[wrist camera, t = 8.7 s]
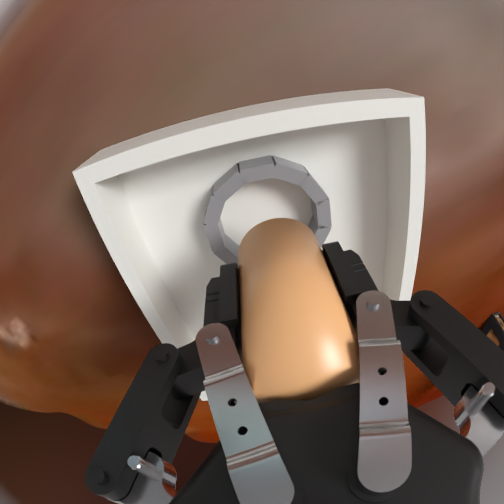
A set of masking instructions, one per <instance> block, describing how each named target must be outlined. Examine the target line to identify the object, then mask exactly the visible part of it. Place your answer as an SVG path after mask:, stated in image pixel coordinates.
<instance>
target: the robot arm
mask: <svg viewBox="0 0 504 504" xmlns="http://www.w3.org/2000/svg"><path fill="white" fill-rule="evenodd" d="M322 252H323V254H324V256H325V259H326V261H327V263H328V266H329V268H330V270H331V273H332V275H333V278H334V280H335V282H336V285H337V287H338V290H339V292H340V295H341V297H342V300H343V302H344V305H345V307H346V310H347V312H348V315H349V318H350V320H351V323H352V325H353V328H354V331H355V333H356V336H357V344H358V359H359V373H358V376H359V382H358V383H355V384H351V385H347V386H343V387H339V388H336V389H334V390H332V391H330V392H328V393H325V394H323V395H321V396H319V397H317V398H315V399H313V400H309V401H301V400H276V401H270V402H263V403H258V402H257V399H256V397H255V394H254V392H253V390H252V387H251V385H250V382H249V380H248V377H247V375H246V372H245V369H244V367H243V361H242V339H241V316H240V292H239V269H238V265H237V263H236V262H234V263H229V264H224V265H220V277H215V278H211V280H210V281H209V283H208V285H207V286H206V298H205V310H204V323H203V328H201V329H200V330H199V331H198V333H197V335H196V338H195V340H194V341H193V342H191V343H189V344H187V345H185V346H182V347H180V348H176V347H175V346H174V345H172V344H169V343H163V344H160V345H157V346H155V347H154V348H153V349H152V350H151V351H150V352H149V353H148V355H147V357H146V358H145V360H144V362H143V364H142V366H141V367H140V369H139V371H138V373H137V375H136V376H135V378H134V380H133V382H132V384H131V386H130V387H129V389H128V391H127V393H126V395H125V397H124V398H123V400H122V402H121V404H120V406H119V408H118V410H117V411H116V413H115V415H114V417H113V419H112V421H111V423H110V425H109V427H108V429H107V430H106V433H105V434H104V436H103V438H102V440H101V442H100V444H99V446H98V448H97V450H96V452H95V454H94V456H93V458H92V460H91V462H90V464H89V466H88V468H87V470H86V474H85V481H86V484H87V486H88V488H89V489H90V490H91V491H92V492H93V493H95V494H98V495H100V496H103V497H105V498H107V499H108V500H111V501H113V502H116V503H119V504H480V499H479V497H480V486H481V481H482V476H483V469H484V468H483V466H484V464H483V458H482V457H483V456H484V455H485V454H486V453H487V452H488V451H489V449H490V448H491V447H492V446H493V445H494V444H495V443H496V442H497V441H498V439H499V438H500V437H501V436H502V435H503V433H504V351H503V350H502V349H501V348H500V347H499V346H497V345H496V344H495V343H494V342H493V341H492V340H491V339H490V338H489V337H487V336H486V335H485V334H484V333H483V332H482V331H481V330H479V329H478V328H477V327H476V326H475V325H474V324H472V323H471V322H470V321H469V320H468V319H467V318H465V317H464V316H463V315H462V314H461V313H459V312H458V311H457V310H456V309H455V308H453V307H452V306H451V305H450V304H448V303H447V302H446V301H445V300H444V299H442V298H441V297H440V296H439V295H437V294H436V293H434V292H432V291H427V290H423V291H418V292H416V293H415V294H413V296H412V297H411V300H410V301H397V300H391V299H389V297H388V296H387V295H386V294H384V293H383V292H380V291H379V290H378V289H377V287H376V285H375V283H374V281H373V279H372V278H371V276H370V274H369V272H368V270H367V269H366V267H365V265H364V264H363V261H362V260H361V258H360V256H359V255H358V254H357V253H355V252H354V251H352V250H346V251H343V249H342V247H341V245H340V244H339V242H338V241H336V242H331V243H326V244H322ZM402 351H403V352H404V353H405V355H406V356H407V357H408V358H409V359H410V360H411V361H412V362H413V363H414V364H415V365H416V366H417V367H418V368H419V369H420V370H421V371H422V372H423V373H424V374H425V375H426V376H427V377H428V378H429V380H430V381H431V382H432V383H433V384H434V385H435V386H436V387H437V388H438V389H439V390H440V391H441V392H442V393H443V394H444V396H445V397H446V398H447V399H448V400H449V401H450V402H451V403H452V404H453V405H454V406H455V409H454V419H455V421H456V424H457V426H458V427H459V429H460V434H459V433H457V432H456V431H454V430H452V429H450V428H448V427H447V426H445V425H443V424H442V423H440V422H438V421H437V420H435V419H433V418H432V417H430V416H428V415H427V414H425V413H423V412H422V411H420V410H418V409H417V408H415V407H413V406H412V405H410V404H408V403H407V395H406V383H405V373H404V364H403V356H402ZM203 391H206V394H207V398H208V401H209V405H210V408H211V412H212V415H213V418H214V422H215V425H216V428H217V432H218V435H219V438H220V441H219V442H218V443H217V445H216V446H215V447H214V449H213V450H212V451H211V452H210V454H209V455H208V456H207V458H206V459H205V460H204V461H203V463H202V464H201V465H200V466H199V468H198V469H197V470H196V471H195V473H194V474H193V475H192V476H191V477H190V479H189V480H188V481H187V483H186V484H185V485H184V486H183V487H182V488H181V490H180V491H179V492H178V493H176V489H175V483H176V478H177V474H176V470H175V469H174V467H173V466H172V465H171V464H172V461H173V459H174V456H175V454H176V452H177V449H178V447H179V445H180V442H181V440H182V438H183V435H184V433H185V430H186V428H187V426H188V423H189V421H190V419H191V416H192V414H193V411H194V409H195V407H196V404H197V402H198V399H199V397H200V395H201V392H203Z"/></svg>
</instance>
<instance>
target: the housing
mask: <svg viewBox="0 0 504 504" xmlns="http://www.w3.org/2000/svg"><path fill="white" fill-rule="evenodd" d="M425 165H426V130H425V105H424V97H421V96H418V95H414V94H410V93H406V92H402V91H398V90H393V89H389V88H387V89H368V90H355V91H343V92H333V93H325V94H316V95H309V96H302V97H295V98H289V99H282V100H277V101H271V102H266V103H260V104H255V105H250V106H245V107H241V108H236V109H232V110H227V111H223V112H219V113H215V114H211V115H207V116H203V117H199V118H196V119H192V120H188V121H185V122H181V123H178V124H174V125H171V126H168V127H164V128H161V129H158V130H155V131H152V132H149V133H146V134H143V135H140V136H137V137H134V138H131V139H128V140H126V141H123V142H120V143H117V144H115V145H112V146H110V147H107V148H104V149H102V150H100V151H99V152H97V153H96V154H95V155H93V156H92V157H91V158H89V159H88V160H87V161H85V162H84V163H83V164H82V165H80V166H79V167H78V168H77V169H75V170H74V171H73V172H72V173H73V175H74V177H75V180H76V182H77V185H78V187H79V189H80V192H81V194H82V196H83V199H84V201H85V203H86V205H87V208H88V210H89V212H90V214H91V216H92V218H93V221H94V223H95V225H96V227H97V229H98V231H99V233H100V235H101V237H102V239H103V241H104V243H105V245H106V247H107V249H108V251H109V253H110V255H111V257H112V259H113V261H114V263H115V265H116V266H117V268H118V270H119V272H120V274H121V276H122V277H123V279H124V281H125V283H126V285H127V286H128V288H129V290H130V292H131V293H132V295H133V297H134V299H135V300H136V302H137V304H138V305H139V307H140V309H141V310H142V312H143V314H144V315H145V317H146V319H147V320H148V322H149V324H150V325H151V327H152V328H153V330H154V332H155V333H156V335H157V336H158V338H159V339H160V341H161V343H162V344H163V343H169V344H172V345H174V346H175V347H176V348H180V347H182V346H185V345H187V344H189V343H191V342H193V341H194V340H195V338H196V335H197V333H198V331H199V330H200V329H201V328H203V323H204V310H205V298H206V286H207V285H208V283H209V281H210V280H211V278H215V277H220V265H224V264H229V263H234V262H236V263H237V265H238V250H239V246H240V243H241V241H242V239H243V237H244V236H245V235H246V233H247V232H248V231H249V230H250V229H251V228H253V227H254V226H256V225H257V224H259V223H261V222H263V221H266V220H269V219H274V218H290V219H294V220H297V221H300V222H302V223H304V224H305V225H307V226H308V227H309V228H310V229H311V230H312V231H313V233H314V234H315V236H316V238H317V240H318V242H319V245H320V247H321V249H322V244H326V243H331V242H336V241H338V242H339V244H340V245H341V247H342V249H343V251H346V250H352V251H354V252H355V253H357V254H358V255H359V256H360V258H361V260H362V261H363V264H364V265H365V267H366V269H367V270H368V272H369V274H370V276H371V278H372V279H373V281H374V283H375V285H376V287H377V289H378V290H379V291H380V292H383V293H384V294H386V295H387V296H388V297H389V299H391V300H397V301H410V300H411V295H412V289H413V284H414V278H415V272H416V266H417V259H418V252H419V244H420V236H421V227H422V217H423V205H424V190H425ZM238 269H239V266H238ZM200 398H201V400H202V401H205V400H208V398H207V394H206V391H203V392H201V395H200Z"/></svg>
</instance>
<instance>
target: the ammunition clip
mask: <svg viewBox="0 0 504 504" xmlns="http://www.w3.org/2000/svg"><path fill="white" fill-rule="evenodd" d="M481 331H482V332H483V333H484V334H485V335H486V336H487V337H489V338H490V339H491V340H492V341H493V342H494V343H495V344H496V345H497V346H499V347H500V348H501V349H502V350H503V351H504V318H503V317H502V315H501V313H500V312H498V313H494V314H491V316H490V318H489V319H488V321H487V322H486V324H485V326H484V327H483V329H482V330H481Z"/></svg>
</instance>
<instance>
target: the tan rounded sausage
mask: <svg viewBox="0 0 504 504" xmlns="http://www.w3.org/2000/svg"><path fill="white" fill-rule="evenodd" d="M238 266H239V292H240V316H241V339H242V361H243V367H244V369H245V372H246V375H247V377H248V380H249V382H250V385H251V387H252V390H253V392H254V394H255V397H256V399H257V402H258V403H263V402H270V401H276V400H301V401H309V400H313V399H315V398H317V397H319V396H321V395H323V394H325V393H328V392H330V391H332V390H334V389H336V388H339V387H343V386H347V385H351V384H355V383H358V382H359V376H358V373H359V359H358V344H357V336H356V333H355V331H354V328H353V325H352V323H351V320H350V318H349V315H348V312H347V310H346V307H345V305H344V302H343V300H342V297H341V295H340V292H339V290H338V287H337V285H336V282H335V280H334V278H333V275H332V273H331V270H330V268H329V266H328V263H327V261H326V259H325V256H324V254H323V252H322V249H321V247H320V245H319V242H318V240H317V238H316V236H315V234H314V233H313V231H312V230H311V229H310V228H309V227H308V226H307V225H305V224H304V223H302V222H300V221H297V220H294V219H290V218H274V219H269V220H266V221H263V222H261V223H259V224H257V225H256V226H254V227H253V228H251V229H250V230H249V231H248V232H247V233H246V235H245V236H244V237H243V239H242V241H241V243H240V246H239V250H238Z"/></svg>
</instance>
